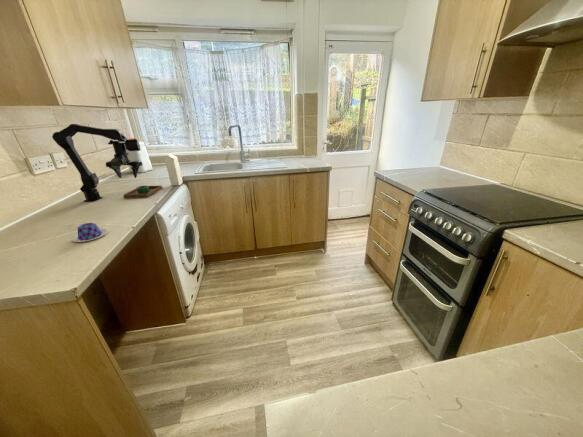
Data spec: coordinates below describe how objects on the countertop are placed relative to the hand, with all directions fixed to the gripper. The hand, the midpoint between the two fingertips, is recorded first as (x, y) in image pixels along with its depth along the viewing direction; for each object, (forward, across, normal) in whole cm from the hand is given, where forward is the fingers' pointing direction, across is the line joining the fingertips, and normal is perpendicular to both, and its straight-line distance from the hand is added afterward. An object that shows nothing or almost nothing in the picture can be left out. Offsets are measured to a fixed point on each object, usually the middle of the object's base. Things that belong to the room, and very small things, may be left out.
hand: (128, 177), depth 149 cm
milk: (+11, +18, +23) cm, 31 cm away
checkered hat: (+11, +16, -56) cm, 59 cm away
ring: (+10, +5, +4) cm, 12 cm away
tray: (+11, +5, +4) cm, 13 cm away
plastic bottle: (+11, -34, +71) cm, 80 cm away
